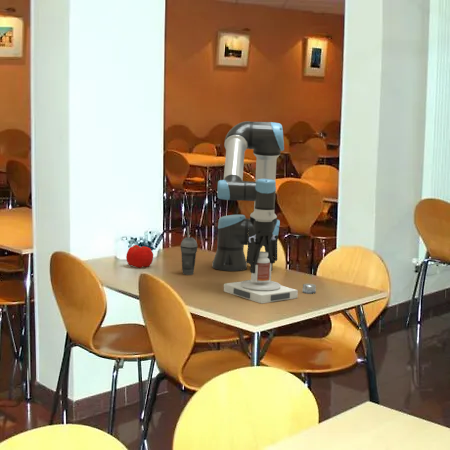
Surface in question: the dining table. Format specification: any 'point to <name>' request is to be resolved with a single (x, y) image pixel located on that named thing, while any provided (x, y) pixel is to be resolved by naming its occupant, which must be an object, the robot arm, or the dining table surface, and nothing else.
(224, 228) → the robot arm
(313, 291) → the shiny grey dome
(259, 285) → the scale
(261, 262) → the pill bottle
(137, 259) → the tomato
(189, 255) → the beverage cup
